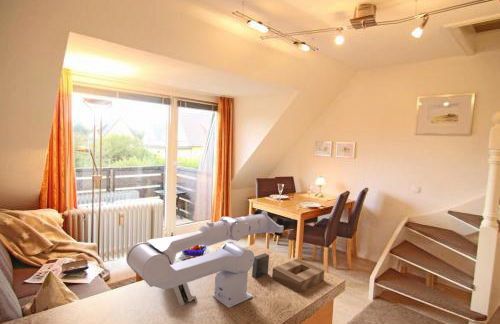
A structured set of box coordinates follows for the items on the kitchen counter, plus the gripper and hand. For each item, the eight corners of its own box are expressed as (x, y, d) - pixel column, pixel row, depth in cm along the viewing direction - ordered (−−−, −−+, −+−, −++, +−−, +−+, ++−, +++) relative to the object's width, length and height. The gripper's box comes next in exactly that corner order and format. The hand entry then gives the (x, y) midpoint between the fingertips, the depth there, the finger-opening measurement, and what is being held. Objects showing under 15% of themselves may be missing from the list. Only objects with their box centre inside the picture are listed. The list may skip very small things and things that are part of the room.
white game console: (198, 302, 80) (187, 272, 78) (182, 311, 78) (171, 280, 76) (183, 275, 95) (175, 250, 92) (170, 282, 93) (161, 256, 91)
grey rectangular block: (255, 278, 96) (257, 259, 96) (252, 276, 97) (253, 257, 97) (267, 273, 100) (269, 254, 100) (263, 271, 102) (265, 253, 101)
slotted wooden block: (299, 292, 88) (300, 282, 88) (272, 277, 97) (272, 268, 97) (323, 279, 98) (324, 270, 98) (296, 267, 107) (297, 258, 107)
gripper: (271, 218, 82) (298, 214, 91) (239, 206, 92) (266, 204, 101) (268, 241, 82) (296, 235, 92) (236, 227, 92) (264, 223, 102)
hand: (280, 220), depth 97 cm, fingers open, 7 cm apart
